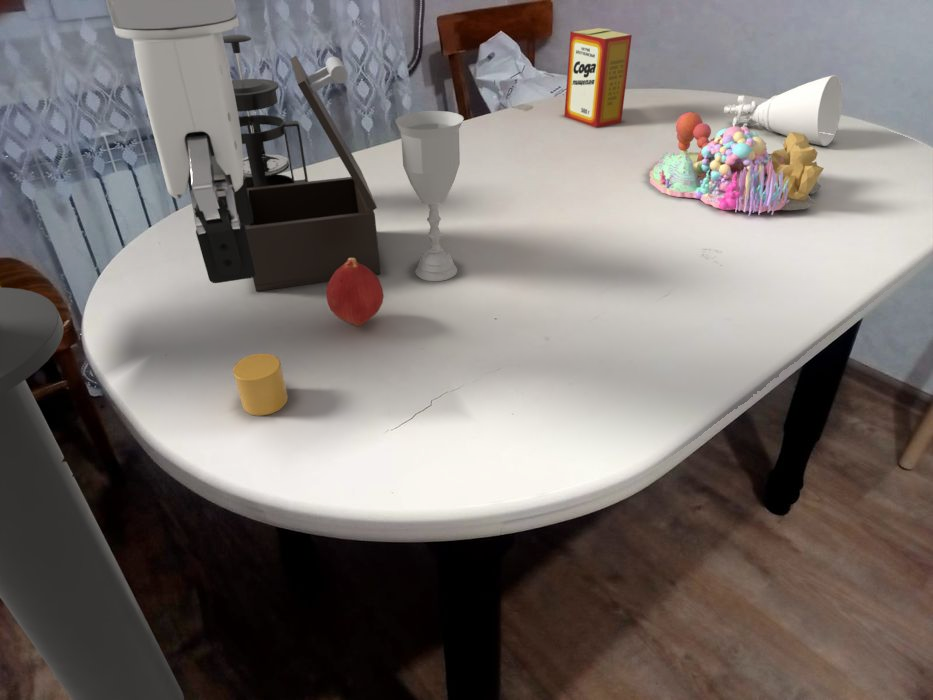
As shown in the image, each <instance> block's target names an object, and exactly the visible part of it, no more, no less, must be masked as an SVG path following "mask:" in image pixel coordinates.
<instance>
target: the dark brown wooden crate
mask: <svg viewBox="0 0 933 700" xmlns="http://www.w3.org/2000/svg"><path fill="white" fill-rule="evenodd" d="M247 192H248V197H249V201H250V206H251V210H252V215H253V223H252V224H250V225H245V227H246V231H247V236H248V240H249V244H250V249H251V253H252V257H253V261H254V266H255V273H256V274H255V276H254V277H253V278H252V280H253V284H254V289H255V291H256V292H262V291H263V292H264V291H269V290H276V289H277V290H278V289H284V288H290V287H296V286H305V285H312V284H318V283H319V284H320V283H327V282H329V281H330V279H331V277H332V276H333V274H334V273H335V271H336V270H337V269H338V268H340V267H341V266H342V265H344V264H345V263H346V262H347V260H348V259H349V258H355V259H356V261H357V263H359V264H362V265H364V266H366V267H367V268H369V269H370V270H371V271H372V272H373V273H374V274H375V275H376V276H377V275H381V263H380V253H379V242H378V233H377V221H376V213H375V211H374V210H373V211H371V210H370V208H369V207H368V205H367V203H366V201H365V200H364V198H363V196H362V194H361V193H360V191H359V189H358V188H357V186H356V184H355V182H354V181H353V179H352V177H351V176H346V177H337V178H329V179H321V180H320V179H318V180H308V182H300V183H290V184H281V185H272V186H263V187H254V188H247Z"/></svg>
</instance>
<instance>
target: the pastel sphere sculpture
mask: <svg viewBox="0 0 933 700" xmlns="http://www.w3.org/2000/svg"><path fill="white" fill-rule="evenodd" d="M675 131H676V139H677V141H678V144H677V148H678V149H679V150H680V153H674V152H665V153H663V154H662V157H660V159H659V161H658V163H655V165H653V168H652V169H651V170H650V171H649V177H650V180H649V183H650V184H651V185H652V186H653V187H655V188H656V189H657V190H658V191H659V192H661V194H666V195H668V196H670V197H671V196H672V197H677V198H693V199H697V200H701V201H702V202H703V203H704V204H706V205H710V206H712V207H713V208H715V209H720V210H721V211H731V210H734V212H735V213H737V211H738V212H740V211H743V213H747V212H748V217H751V213H758V216H760V214H761V213H764V212H767V213H768V214H769V213H770V212H771V216H773V215H774V212H775V211H780V210H782V211H798V210H806V209H808V208H809V207H813V206H814V205H815V202H814V201H813V200H812V198H811V197H810V196H809V194H810V195H811V194H815V193H816V192H819V191H821V189H822V186H823V185H821V183H819V182H818V180H819V177H820V175H821V174H822V172H823V171H824V167H822V166H819V165H818V163H817V161H815V160H817V157H818V153H819V152H818V151H817V149H816V148H815V147H813V146H810V143H809V142H808V139H807V137H806V136H805V135H804V134H800V133H795V132H790V134H789V135H788V136H786V138H784V141H783V144H782V147H783V148H780V149H776V150H773V151H772V153H768V151H767V150H768V148H767V143H766V142H765V140H764V139H763V138H762V137H760V136H759V135H758V134H757V133H755V132H750V129H749V127H748V126H747V127H743V128H742V129H741V127H740V126H738V125H737V126H733V125H732V126H730V127H727V128H726V127H725V128H722V129H720V130H718V132H717V133H716V134H715V137H713V138H711V139H710V140H709V138H710V137H711V134H712V129H711V126H710V125H709V124H707V123H705V122H704V121H703V119H702V116H701V115H700V114H698V113H696V112H694V111H688V112H684V113H683V114H681V115H680V116H679V117H678V118H677V120H676V124H675ZM694 139H695V140H696V145H697V147H698V148H699V149H700V150H701V151H699V152H693V151H692V152H691V151H690V152H688V149H689V148H690V147H691V142H692V141H694Z"/></svg>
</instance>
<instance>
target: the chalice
mask: <svg viewBox="0 0 933 700" xmlns="http://www.w3.org/2000/svg"><path fill="white" fill-rule="evenodd" d="M464 119H465V118H464V116H463V115H461V114H459V113H457V112H451V111H443V110H426V111H425V110H423V111H416V112H410V113H407V114H402V115H399V116H398V117H396V119H395V120H394V122H395V125H396V127H397V128H398V130H399V132H400V139H401V153H402V155H401V156H402V166H403V169H404V172H405V174H406V176H407V179H408V181H409V183H410V186H411V187H412V189H413V191H414V192H415V194H416V196H417V198H418V199H419V200H420V202H421V203H422V204H425V205H427V206H428V209H429V212H428V216H427V219H426V221H427V223H428V224H429V226H430V228H429V231H428V232H427V234H426V236H427V237H428V238H429V241H430V248H429V249H427V250H425V251H424V252H423V253H422V255H421V256H420V258H419V261H418V264H417V267H416V269H415V275H416V277H418V278H419V279H421V280H424V281H427V282H441V281H446V280H450V279H451V278H453V277H455V276H456V275H457V273H458V268H457V266H456V265H455V262H454V260H453V258H452V255H451V254H450V253H449V252H448V251H446V250H445V249H443V248H442V247H441V246H440V240H441V239H440V238H441V237H442V236H443V232H442V231H441V230H440V228H439V224H440V222H441V220H442V217H441V216H440V214H439V210H438V208H439V204H442V203H444V202H445V201H446V200H447V197H448V195H449V193H450V191H451V190H452V187H453V186H454V185H453V184H454V183H455V179H456V177H457V173H458V172H459V171H458V170H459V167H460V164H461V161H460V160H461V156H460V128H461V126H462V124H463V121H464Z"/></svg>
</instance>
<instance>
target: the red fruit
mask: <svg viewBox="0 0 933 700" xmlns="http://www.w3.org/2000/svg"><path fill="white" fill-rule="evenodd" d="M327 282H328V283H327V285H326V290H325V296H326V302H327V305H328V308H329V310H330V311H331V312H332V313H333V314H334V316H336V317H337V318H338V319H339V320H341V321H343V322H346V323H349V324H351V325H353V326H354V327H362V326H364V325H365V324H366V322H368V321H370V320H371V318H373V317H374V316H375V315H376V314H377V313H378V311H379V310H380V309H381V306H382V305H383V303H384V297H385V296H384V290H383V287H382V286H383V285H382V283H381V281H380V278H379V277H378V276H377V274H376V275H375V274H374V273H373V272H372V271H371V270H370V269H369V268H367V267H366V266H364V265H362V264H359V263H357V261H356V259H355V258H349V259H348V260H347V262H346V263H345V264H344V265H342V266H341V267H340V268H338V269H337V270H336V271H335V273H334V274H333V276H332V277H331V279H330V281H327Z"/></svg>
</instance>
